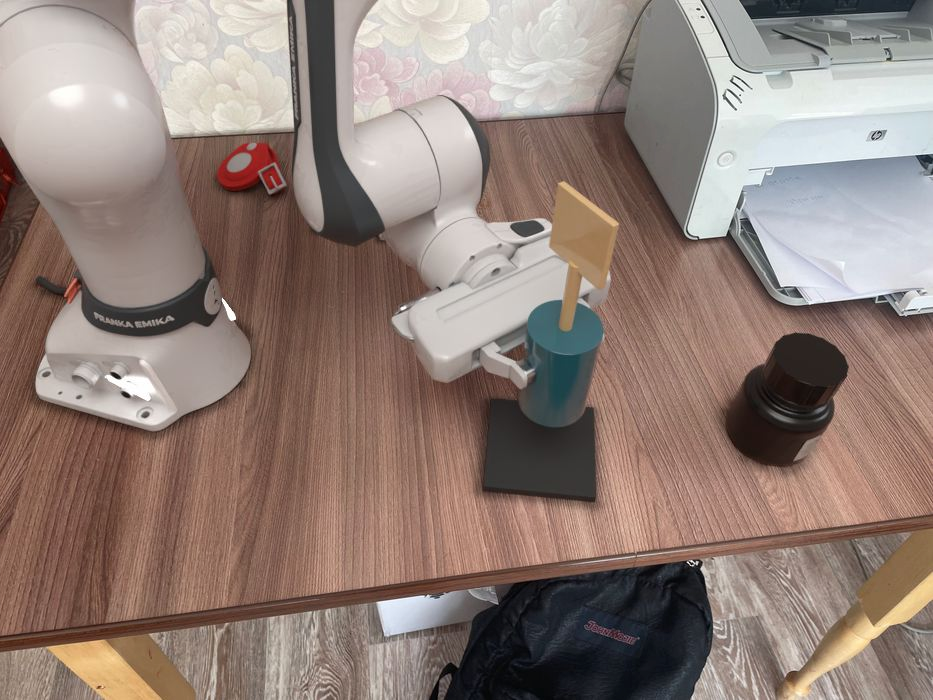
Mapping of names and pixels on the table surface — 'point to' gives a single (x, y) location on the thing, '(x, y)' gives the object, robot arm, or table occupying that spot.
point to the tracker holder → (251, 168)
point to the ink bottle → (787, 400)
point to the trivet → (539, 455)
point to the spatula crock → (568, 314)
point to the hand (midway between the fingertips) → (564, 362)
